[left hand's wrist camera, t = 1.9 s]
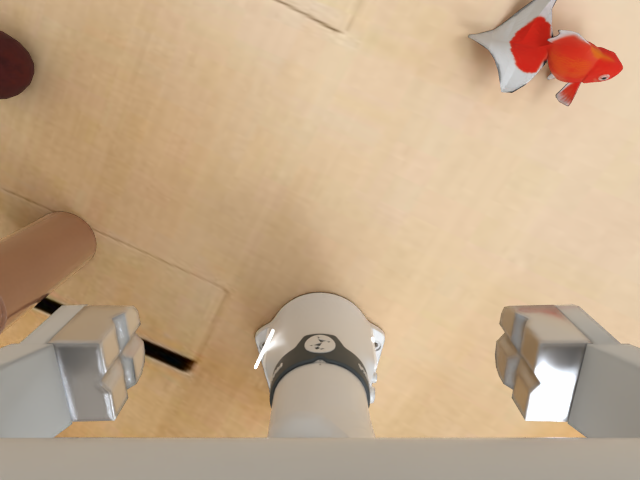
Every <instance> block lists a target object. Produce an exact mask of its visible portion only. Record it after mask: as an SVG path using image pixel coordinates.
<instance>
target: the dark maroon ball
mask: <svg viewBox="0 0 640 480" xmlns="http://www.w3.org/2000/svg"><path fill="white" fill-rule="evenodd" d="M33 75H34V63H33V61H32V59H31V57H30V54H29V53H28V51H27V50H26V49H25V48H24V47H23V46H22V45H21V44H20V43H19V42H18V41H16V40H15V39H13V38H12V37H10V36H9V35H7V34H6V33H4V32H2V31H0V99H7V98H10V97H13V96H16V95H18V94H20V93H21V92H22V91H23V90H24V89H25V88H26V87H27V86H28V85H30V83H31V80H32V77H33Z"/></svg>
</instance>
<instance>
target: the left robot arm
mask: <svg viewBox="0 0 640 480" xmlns="http://www.w3.org/2000/svg"><path fill="white" fill-rule="evenodd" d="M140 324H141V323H140V318H139V313H138V310H137V309H136V308H135V307H134V306H113V305H64V306H61V307H60V308H59V309H58V310H56V311H55V312H54V313H53V314H52V315H51V316H50V317H49V318H47V319H46V320H45V321H44V322H43V323H42V324H41V325H40V326H39V327H37V328H36V329H35V330H34V331H33V332H32V333H31V334H30V335H28V336H27V337H26V338H25V339H24V340H23V341H22V342H21V343H19V344H10V345H7V346H5V347H2V348H0V480H640V348H638V347H635V346H633V345H630V344H621V343H619V342H618V341H617V340H616V339H615V338H614V337H613V336H612V335H611V334H609V333H608V332H607V331H606V330H605V329H604V328H603V327H602V326H600V325H599V324H598V323H597V322H596V321H595V320H594V319H593V318H592V317H590V316H589V315H588V314H587V313H586V312H585V311H584V310H583V309H581V308H580V307H579V306H576V305H573V304H572V305H531V306H507V307H504V309H503V311H502V313H501V318H500V323H499V324H500V326H501V327H502V329H503V330H504V332H505V333H504V334H503V335H502V336H501V337H500V338H499V339H498V340H497V342H496V350H495V360H496V368H497V371H498V374H499V377H500V378H501V380H502V382H503V384H505V385H506V386H508V387H510V388H511V389H513V394H512V399H513V401H514V402H515V404H516V406H517V407H518V409H519V411H520V412H521V414H522V416H523V417H524V419H525V420H527V421H564V422H568V424H569V425H570V426H572V427H573V428H575V429H576V430H577V431H579V432H580V433H581V434H583V435H584V436H585V437H587V438H376V437H375V434H374V430H373V427H372V423H371V419H370V413H369V405H370V403H373V402H374V399H375V388H374V387H373V386H372V383H376V381H377V373H375V372H376V369H377V365H378V362H379V358H380V355H381V351H382V348H383V344H384V341H385V334H384V332H383V331H382V330H381V329H380V328H379V327H377V326H375V325H374V324H372V323H370V322H369V321H368V320H367V319H366V318H365V316H364V315H363V313H362V312H361V311H360V309H359V308H358V307H357V306H355V305H354V304H353V303H352V302H350V301H349V300H347V299H345V298H343V297H341V296H338V295H335V294H330V293H310V294H305V295H302V296H299V297H297V298H295V299H293V300H291V301H290V302H288V303H287V304H286V305H285V306H283V307H282V308H281V309H280V311H279V312H278V313H277V315H276V316H275V318H274V319H273V320H272V321H271V322H270V323H268V324H266V325H265V326H263V327H261V328H260V329H259V330H258V331H257V332H256V334H255V341H256V344H257V348H258V351H259V355H260V356H259V358H258V360H257V362H256V364H255V367H254V368H255V369H257V367H258V364H259V362H260V360H261V362H262V365H263V369H264V372H265V376H266V379H267V382H268V386H269V389H270V405H271V416H270V423H269V430H268V437H267V438H53V437H55V436H56V435H57V434H59V433H60V432H62V431H63V430H64V429H66V428H67V427H68V426H70V425H71V424H72V422H76V421H111V420H115V419H116V417H117V416H118V414H119V412H120V411H121V409H122V407H123V406H124V404H125V402H126V401H127V399H128V394H127V389H129V388H130V387H132V386H134V385H135V384H137V382H138V380H139V378H140V376H141V375H142V371H143V367H144V363H145V349H144V342H143V340H142V339H141V338H140V337H139V336H138V335H137V334H136V333H135V332H136V330H137V329H138V327H139V326H140ZM263 343H265V345H264V344H263ZM375 343H377V344H376V345H375Z"/></svg>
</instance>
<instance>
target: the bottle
mask: <svg viewBox="0 0 640 480" xmlns="http://www.w3.org/2000/svg"><path fill="white" fill-rule="evenodd" d="M95 251H96V239H95V236H94V233H93V231H92V229H91V228H90V227H89V225H88V224H87V223H86V222H85V221H84V220H82V219H81V218H79V217H78V216H76V215H73V214H71V213H67V212H53V213H50V214H48V215H46V216H44V217H42V218H40V219H38V220H36V221H34V222H32V223H30V224H28V225H27V226H25V227H23V228H21V229H19V230H17V231H15V232H13V233H11V234H9V235H7V236H6V237H4V238H2V239H0V334H1V333H3V332H4V331H5V330H6V329H7V328H9V327H10V326H11V325H12V324H14V323H15V322H16V321H17V320H18V319H20V318H21V317H22V316H23V315H25V314H26V313H27V312H28V311H29V310H31V309H32V308H33V307H34V306H36V305H37V304H38V303H39V302H40V301H42V300H43V299H44V298H45V297H46V296H48V295H49V294H50V293H51V292H53V291H54V290H55V289H56V288H57V287H59V286H60V285H61V284H62V283H64V282H65V281H66V280H67V279H68V278H70V277H71V276H72V275H73V274H75V273H76V272H77V271H78V270H79V269H81V268H82V267H83V266H84V265H86V264H87V263H88V262H89V261H90V260H91V259H92V258H93V256H94V254H95Z"/></svg>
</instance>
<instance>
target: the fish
mask: <svg viewBox="0 0 640 480" xmlns="http://www.w3.org/2000/svg"><path fill="white" fill-rule="evenodd" d="M555 2H556V0H533V1H532V2H530V3H529V4H527V5H526V6H525V7H523V8H522V9H520V10H519V11H518V12H517V13H515V14H514V15H513V16H512V17H511V18H509V19H508V20H507V21H505V22H504V23H503V24H501V25H500V26H498V27H497V28H496V29H494V30H491V31H487V32H483V33H479V34H471V35H469V36H468V37H469V38H471V39H472V40H475V41H476V42H478V43H479V44H481V45H482V46H484V47H485V48H486V49H488V50H489V51H490V53H491V55H492V56H493V58H494V60H495V63H496V66H497V69H498V73H499V80H500V86H501V92H510V93H513V92H514V91H516V90H518V89H519V88H521V87H522V86H524V85H525V84H527V83H528V82H529V81H530V80H531V79H532V78H533V77H534V76H535V75H536V74H537V73H538V72H539V70H540V69H541V68H542V67H543V66H544V65H545V63H546V62H548V65H549V69H550V71H551V74H550V75H549V76H548V77H547V79H553V78H557V79H558V80H560V81H563V82H568V83H567V84H566V85H565V86H564V87H563V88H562V89H561V90H560V91H559V92H558V93H557V94H556V98H557V99H558V101H559V102H561V103H562V104H564V105H566V106H569V105H570V104H571V102H572V100H573V98H574V96H575V94H576V92H577V90H578V88H579V86H580V84H581V82H583V83H590V82H601V81H605V80H608V79H611V78H613V77H614V76H616V75H617V74H619V73H620V72H621V71H622V69H623V66H622V64H621V62H620V61H619V59H618V57H617V56H616V54H615V53H614V52H612V51H609V50H607V49H605V48H602V47H596V46H595V45H594V44H592V43H590V42H588V41H586V40H585V39H584V38H583V37H582V36H581V35H580V34H579V33H576V32H572V31H566V30H558V31H559V35H557V36H555V37H553V31H552V8H553V6H554V4H555Z"/></svg>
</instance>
